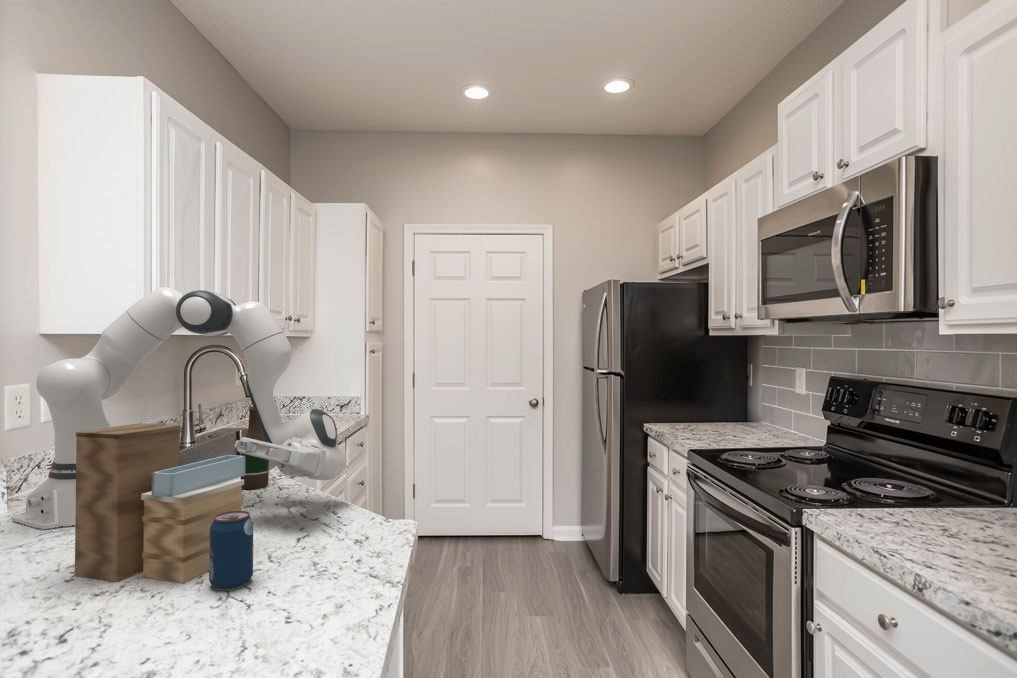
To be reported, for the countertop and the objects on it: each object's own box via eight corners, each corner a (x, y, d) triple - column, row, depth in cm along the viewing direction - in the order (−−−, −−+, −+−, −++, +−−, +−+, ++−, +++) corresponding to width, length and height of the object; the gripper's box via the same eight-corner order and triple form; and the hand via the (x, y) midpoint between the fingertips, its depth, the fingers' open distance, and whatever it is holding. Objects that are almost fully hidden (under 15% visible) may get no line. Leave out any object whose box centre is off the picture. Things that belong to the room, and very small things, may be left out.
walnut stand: (73, 575, 104) (75, 432, 104) (138, 551, 116) (139, 423, 117) (117, 582, 101) (119, 434, 101) (179, 556, 113) (180, 425, 114)
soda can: (261, 579, 102) (262, 511, 102) (231, 595, 96) (232, 522, 96) (231, 574, 104) (231, 508, 105) (199, 589, 98) (200, 518, 98)
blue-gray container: (151, 495, 102) (151, 472, 102) (227, 474, 119) (227, 454, 120) (171, 497, 101) (171, 474, 101) (245, 475, 118) (245, 456, 118)
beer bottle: (258, 491, 166) (258, 408, 166) (234, 489, 167) (235, 407, 168) (274, 484, 174) (274, 405, 174) (251, 483, 175) (252, 405, 176)
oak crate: (140, 577, 103) (141, 493, 103) (204, 550, 117) (205, 476, 117) (183, 583, 100) (183, 497, 100) (243, 555, 114) (244, 479, 114)
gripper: (268, 437, 143) (224, 426, 131) (331, 451, 135) (291, 441, 123) (260, 462, 142) (214, 453, 130) (323, 478, 133) (281, 471, 121)
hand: (252, 448), depth 126 cm, fingers open, 8 cm apart
